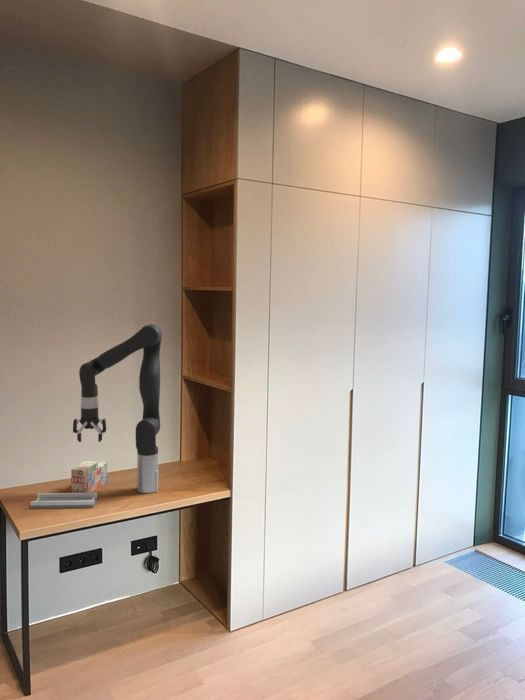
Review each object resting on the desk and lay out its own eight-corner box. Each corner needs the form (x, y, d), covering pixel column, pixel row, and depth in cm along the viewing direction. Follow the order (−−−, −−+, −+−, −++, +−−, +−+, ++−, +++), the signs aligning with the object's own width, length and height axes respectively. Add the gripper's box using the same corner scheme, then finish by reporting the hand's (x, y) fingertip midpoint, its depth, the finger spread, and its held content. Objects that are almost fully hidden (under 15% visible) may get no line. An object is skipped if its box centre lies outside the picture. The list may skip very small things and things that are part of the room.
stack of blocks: (95, 480, 268) (95, 455, 266) (107, 481, 266) (107, 456, 265) (71, 495, 247) (71, 468, 246) (84, 497, 246) (84, 469, 244)
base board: (97, 498, 244) (97, 492, 244) (93, 507, 234) (93, 501, 234) (37, 499, 241) (37, 493, 241) (30, 508, 231) (30, 502, 231)
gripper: (107, 404, 257) (107, 439, 259) (75, 404, 255) (75, 439, 257) (104, 408, 250) (104, 443, 251) (71, 408, 248) (71, 444, 249)
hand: (89, 441), depth 254 cm, fingers open, 8 cm apart
